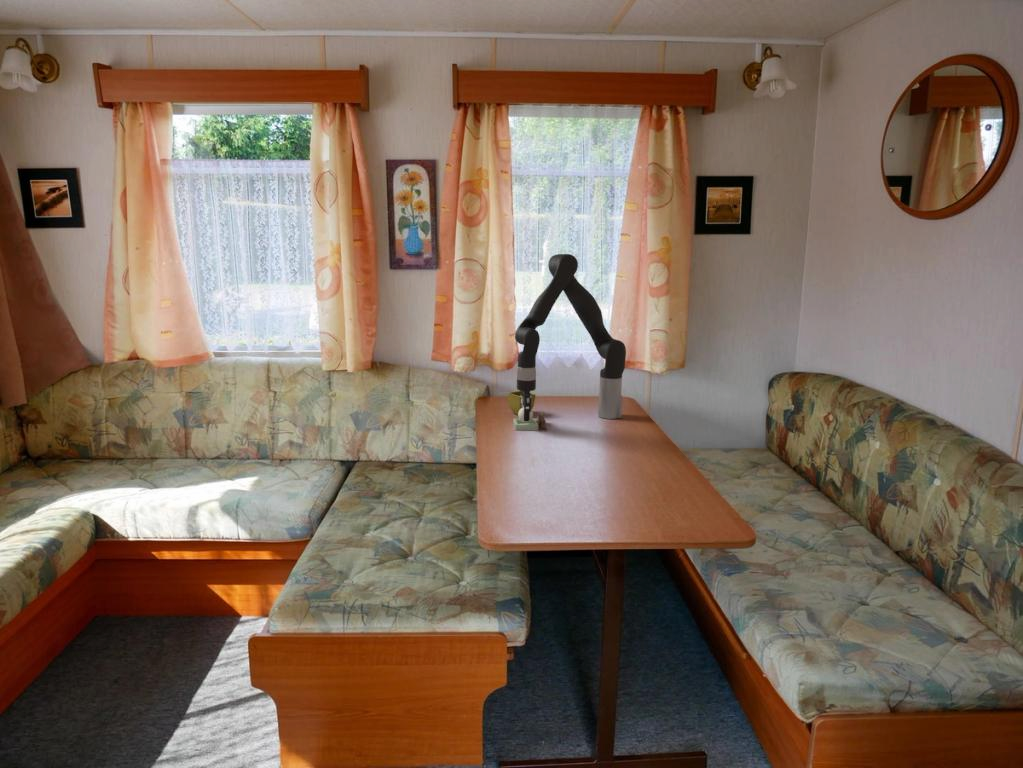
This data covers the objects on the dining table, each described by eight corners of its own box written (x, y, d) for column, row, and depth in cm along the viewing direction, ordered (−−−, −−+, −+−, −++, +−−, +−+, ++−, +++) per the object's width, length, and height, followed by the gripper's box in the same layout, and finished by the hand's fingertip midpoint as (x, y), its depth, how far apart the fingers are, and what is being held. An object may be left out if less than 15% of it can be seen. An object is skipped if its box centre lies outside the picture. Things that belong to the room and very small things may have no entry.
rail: (542, 422, 279) (543, 412, 279) (547, 430, 268) (547, 420, 267) (535, 422, 279) (535, 412, 278) (539, 430, 268) (539, 420, 267)
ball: (532, 419, 275) (532, 405, 274) (533, 423, 269) (534, 409, 268) (517, 419, 275) (517, 405, 273) (518, 423, 269) (519, 409, 267)
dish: (535, 423, 277) (535, 418, 277) (538, 429, 268) (538, 424, 268) (513, 423, 276) (513, 418, 276) (515, 430, 268) (515, 425, 267)
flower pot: (522, 410, 298) (522, 390, 296) (535, 414, 291) (536, 393, 289) (506, 413, 292) (507, 392, 290) (520, 417, 286) (520, 396, 284)
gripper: (538, 381, 261) (537, 423, 265) (533, 373, 275) (532, 414, 279) (518, 381, 261) (518, 424, 264) (515, 374, 275) (514, 414, 278)
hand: (525, 418), depth 272 cm, fingers closed on ball, 5 cm apart
